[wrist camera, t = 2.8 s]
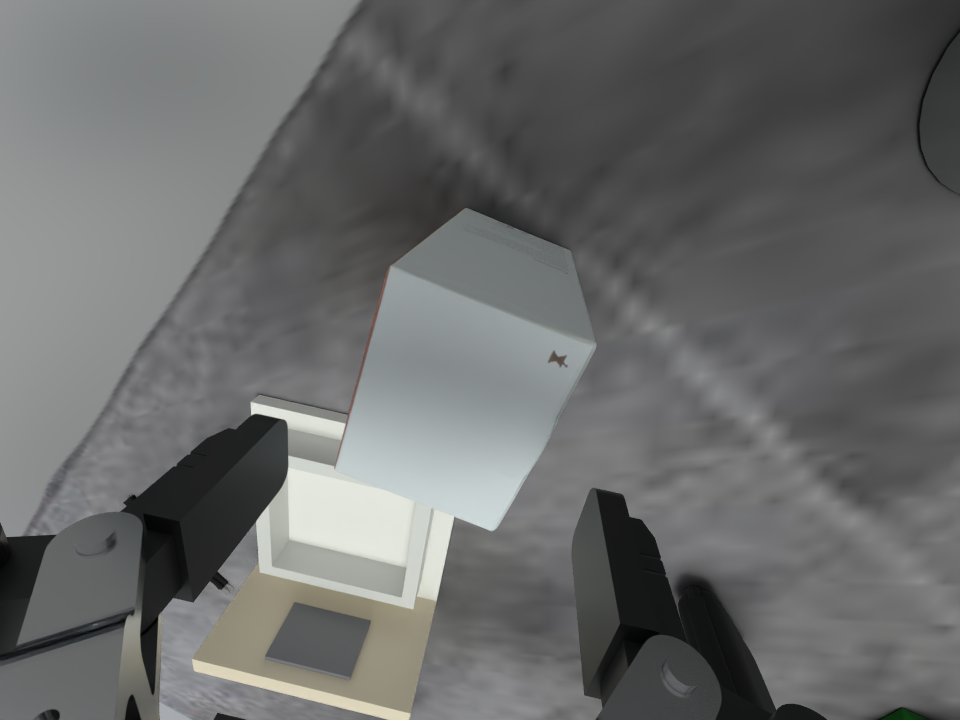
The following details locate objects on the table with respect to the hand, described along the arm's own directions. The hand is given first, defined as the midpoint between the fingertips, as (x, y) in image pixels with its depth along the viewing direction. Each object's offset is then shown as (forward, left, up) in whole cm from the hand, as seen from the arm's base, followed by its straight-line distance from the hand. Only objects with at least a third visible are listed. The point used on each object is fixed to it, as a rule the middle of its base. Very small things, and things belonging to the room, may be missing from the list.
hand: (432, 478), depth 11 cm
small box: (0, 0, -16) cm, 16 cm away
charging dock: (+19, -7, -16) cm, 25 cm away
